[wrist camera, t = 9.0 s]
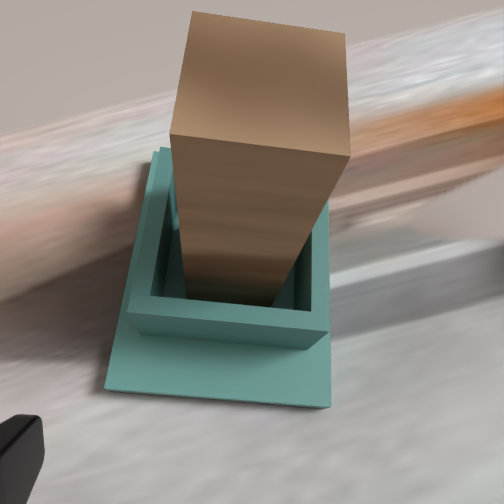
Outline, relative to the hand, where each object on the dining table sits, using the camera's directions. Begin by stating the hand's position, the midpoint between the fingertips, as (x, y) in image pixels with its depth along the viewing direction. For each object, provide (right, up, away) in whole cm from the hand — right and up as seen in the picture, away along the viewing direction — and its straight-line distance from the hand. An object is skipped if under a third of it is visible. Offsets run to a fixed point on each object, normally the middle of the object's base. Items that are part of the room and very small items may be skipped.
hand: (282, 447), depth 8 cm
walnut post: (-2, +3, +15) cm, 15 cm away
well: (-2, +3, +16) cm, 16 cm away
